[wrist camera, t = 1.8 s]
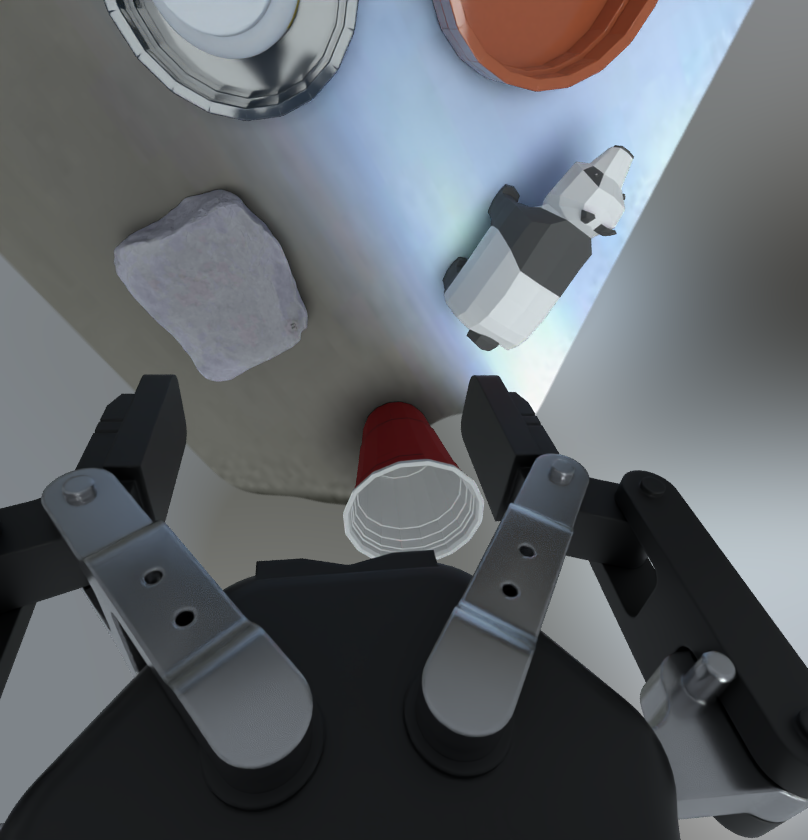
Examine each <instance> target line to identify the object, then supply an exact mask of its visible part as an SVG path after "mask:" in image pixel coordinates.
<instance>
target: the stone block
mask: <svg viewBox="0 0 808 840" xmlns="http://www.w3.org/2000/svg"><path fill="white" fill-rule="evenodd" d="M114 255H115V259H114V264H115V266H116V272H117V275H118V276H119V277H120V279H121V280H122V282H123V283H124V284H125V286H126V287H127V289H128V290H129V292H130V293H131V294H132V296H133V297H134V298H135V299H136V300H137V301H138V302H139V303H140V304H141V305H142V306H143V308H144V309H145V310H146V311H147V312H148V313H149V314H150V315H151V316H152V317H153V318H154V319H155V320H156V321H157V322H158V323H159V324H160V325H161V326H162V327H164V328H165V329H166V330H167V331H168V332H169V333H170V334H171V335H173V337H174V338H175V339H176V340H177V341H178V342H179V343H180V344H181V346H182V347H183V349H184V350H185V351H186V352H187V353H188V354H189V355H190V357H191V359H192V361H193V362H194V364H195V366H196V368H197V369H198V371H199V372H200V373H201V374H202V375H203V376H204V377H205V378H206V379H209V380H213V381H225V380H231V379H233V378H234V377H235V376H237V375H240V374H242V373H243V372H244V371H246V370H248V369H250V368H252V367H254V366H256V365H258V364H260V363H262V362H264V361H267V360H269V359H272V358H273V357H275V356H277V355H279V354H280V353H282V352H284V351H286V350H288V349H290V348H292V347H293V346H294V345H295V344H297V343H298V342H299V340H300V339H301V337H300V335H301V332H302V331H303V330H305V329H306V328H307V322H308V314H307V310H306V308H305V306H304V303H303V301H302V299H301V297H300V294H299V292H298V289H297V286H296V281H295V279H294V277H293V275H292V274H291V270H290V267H289V263H288V261H287V259H286V257H285V254H284V252H283V250H282V247H281V245H280V243H279V242H278V240H277V239H276V238H275V237H274V236H273V235H272V233H271V231H270V230H269V229H268V227H267V225H266V224H265V223H264V222H263V221H262V220H260V219H259V218H258V217H257V216H256V215H255V214H253V213H252V212H251V211H250V210H249V209H248V207H246V205H245V204H244V203H243V202H242V200H241V199H240V198H239V197H238V196H237V195H236V194H233V193H231V192H228V191H225V190H222V189H219V190H213V191H211V192H209V193H204V194H201V195H195V196H191V197H187V198H185V199H184V200H183V201H182V202H181V203H180V204H179V205H178V206H177V207H176V208H174V209H173V210H171V211H170V212H169V213H168V214H167V215H166V216H164V217H163V218H161V219H160V220H159V221H157V222H154V223H152V224H150V225H148V226H146V227H145V228H143V229H140V230H138V231H136V232H135V233H133V234H131V235H129V236H128V237H127V239H125V240H124V241H122V242H121V243H120V245H118V246H117V247H116V248H115V250H114Z"/></svg>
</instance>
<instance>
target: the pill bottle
mask: <svg viewBox="0 0 808 840" xmlns="http://www.w3.org/2000/svg"><path fill="white" fill-rule="evenodd" d="M152 1H153V3H154V5H155V6H156V8H157V9H158V11H159V12H160V13H161V15H162V16H163V18H164V19H165V20H166V21H167V23H168V24H169V25H170V26H171V27H172V28H173V29H174V30H175V31H176V32H177V33H178V34H179V35H180V36H181V37H182V38H184V39H185V40H186V41H187V42H189V43H190V44H192V45H193V46H195V47H196V48H198V49H200V50H202V51H204V52H206V53H208V54H211V55H214V56H217V57H221V58H227V59H243V58H249V57H252V56H255V55H258V54H260V53H262V52H264V51H266V50H267V49H269V48H270V47H271V46H272V45H273V44H275V43H276V42H277V41H278V40H280V39H281V38H282V37H283V36H284V34H285V33H286V32H287V31H288V29H289V28H290V26H291V24H292V22H293V20H294V18H295V15H296V13H297V9H298V5H299V0H152Z"/></svg>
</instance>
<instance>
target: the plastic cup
mask: <svg viewBox="0 0 808 840" xmlns="http://www.w3.org/2000/svg"><path fill="white" fill-rule="evenodd" d="M483 508H484V499H483V498H482V495H481V493H480V491H479V489H478V487H477V485H476V482H475V481H474V480H473V479H472V478H471V477H469V476H468V475H466V474H465V473H463V472H462V470H460V469H459V467H458V466H457V464H456V463H455V462H454V461H453V460H452V458H451V457H450V455H449V453H448V452H447V450H446V448H445V447H444V445H443V444H442V442H441V441H440V439H439V437H438V436H437V434H436V433H435V431H434V429H433V428H431V427H430V425H429V423H428V422H427V420H426V418H425V417H424V415H423V413H421V412H420V411H419V410H418V409H417V408H415V407H414V406H413V405H411V404H407V403H403V402H393V403H387V404H385V405H382V406H380V407H378V408H376V409H375V410H374V411H373V412H372V413H371V414H370V415H369V416H368V419H367V421H366V423H365V426H364V428H363V437H362V445H361V447H360V455H359V463H358V471H357V479H356V486H355V488H354V489H353V492H352V494H351V496H350V498H349V501H348V503H347V505H346V507H345V510H344V513H343V517H344V527H345V534H346V535H347V537H348V538H349V539H350V541H351V542H352V543H353V545H354V546H355V548H356V549H357V550H358V551H360V552H361V553H363V554H365V555H367V556H369V557H370V558H375V557H379V556H382V555H386V554H389V553H392V552H407V551H422V550H434V553H435V557H436V560H437V559H440V558H442V557H445V556H448V555H451V554H452V553H454V552H455V551H456V550H458V549H459V548H460V547H461V546H463V545H464V544H465V543H467V542H468V541H469V540H471V538H472V536H473V535H474V533H475V531H476V530H477V528H478V527H479V525H480V523H481V522H482V517H483Z"/></svg>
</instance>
